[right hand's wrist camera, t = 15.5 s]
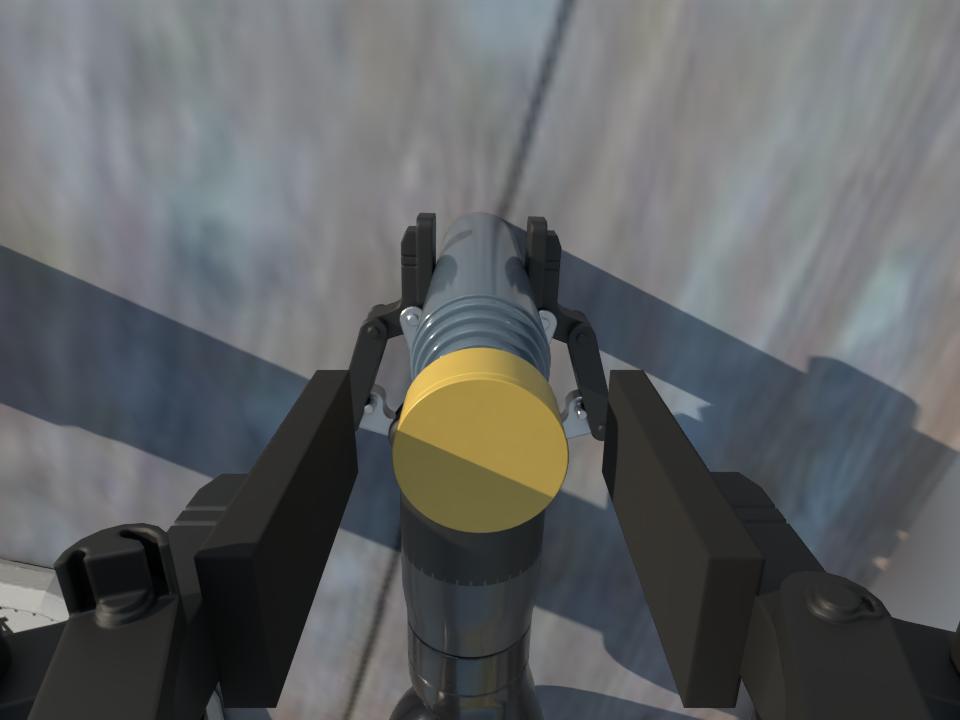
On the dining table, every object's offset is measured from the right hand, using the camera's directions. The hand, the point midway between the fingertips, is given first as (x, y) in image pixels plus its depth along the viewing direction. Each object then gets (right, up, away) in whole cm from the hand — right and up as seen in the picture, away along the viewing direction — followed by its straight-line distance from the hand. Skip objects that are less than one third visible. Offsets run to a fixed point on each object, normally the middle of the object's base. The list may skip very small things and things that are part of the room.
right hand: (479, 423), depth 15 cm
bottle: (0, +8, +19) cm, 21 cm away
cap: (0, 0, -1) cm, 1 cm away
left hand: (0, +8, +12) cm, 14 cm away
